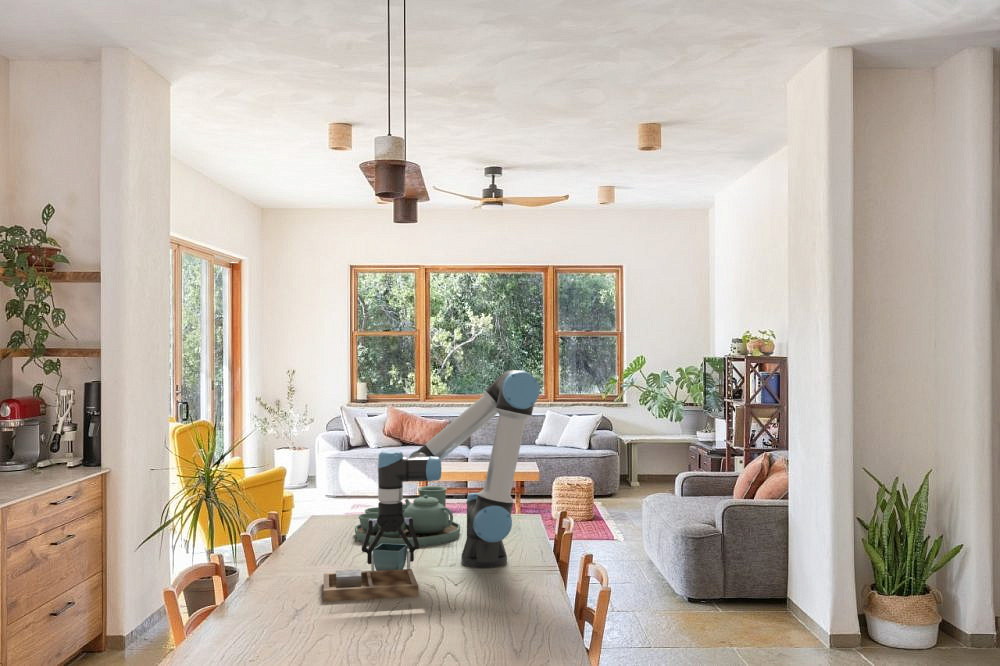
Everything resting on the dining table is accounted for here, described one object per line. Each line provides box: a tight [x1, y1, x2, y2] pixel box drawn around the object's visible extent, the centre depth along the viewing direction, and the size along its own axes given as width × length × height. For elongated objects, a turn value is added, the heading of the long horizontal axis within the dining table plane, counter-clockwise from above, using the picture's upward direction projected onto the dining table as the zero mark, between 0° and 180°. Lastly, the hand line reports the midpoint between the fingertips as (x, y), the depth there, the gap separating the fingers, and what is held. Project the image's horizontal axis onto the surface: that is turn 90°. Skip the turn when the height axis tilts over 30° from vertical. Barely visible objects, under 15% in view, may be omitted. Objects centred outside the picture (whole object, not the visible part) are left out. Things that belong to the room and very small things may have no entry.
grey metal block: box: [335, 569, 362, 588], centre depth 237 cm, size 7×7×5 cm
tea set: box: [354, 485, 461, 548], centre depth 314 cm, size 40×40×16 cm
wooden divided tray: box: [322, 568, 419, 603], centre depth 238 cm, size 26×18×4 cm
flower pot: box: [372, 543, 409, 571], centre depth 256 cm, size 9×9×9 cm
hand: (390, 573), depth 256 cm, fingers closed on flower pot, 10 cm apart
